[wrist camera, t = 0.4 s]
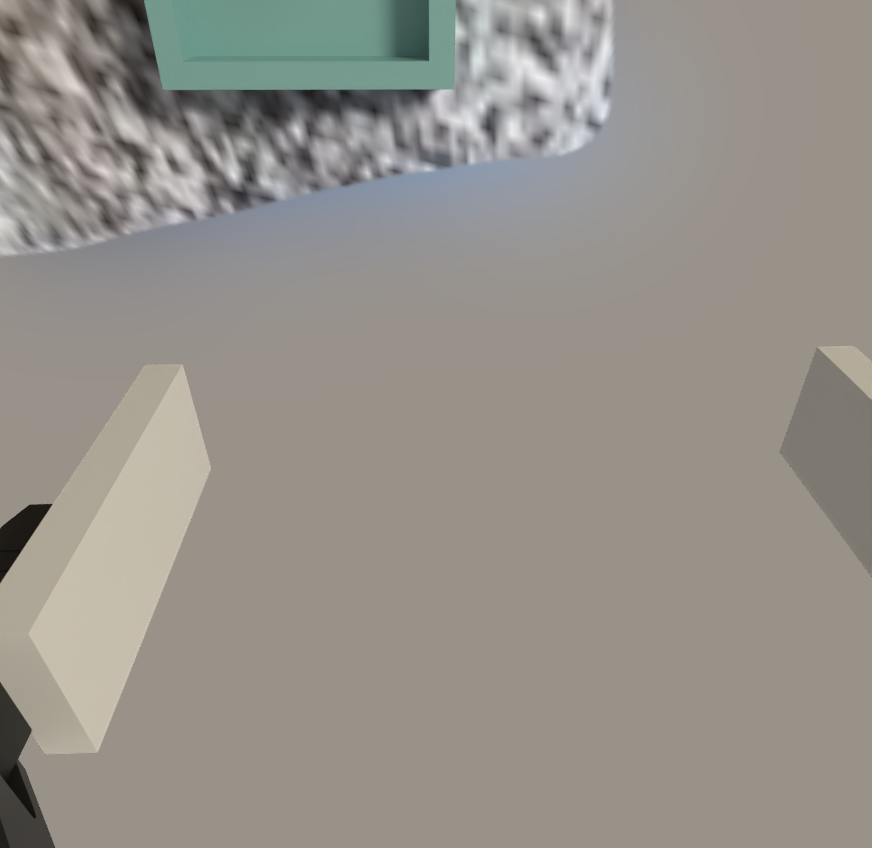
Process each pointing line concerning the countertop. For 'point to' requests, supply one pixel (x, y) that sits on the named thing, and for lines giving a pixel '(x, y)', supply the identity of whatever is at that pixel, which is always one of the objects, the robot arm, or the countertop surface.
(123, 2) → the countertop surface
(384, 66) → the collection tray
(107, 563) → the robot arm
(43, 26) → the countertop surface
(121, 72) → the countertop surface
